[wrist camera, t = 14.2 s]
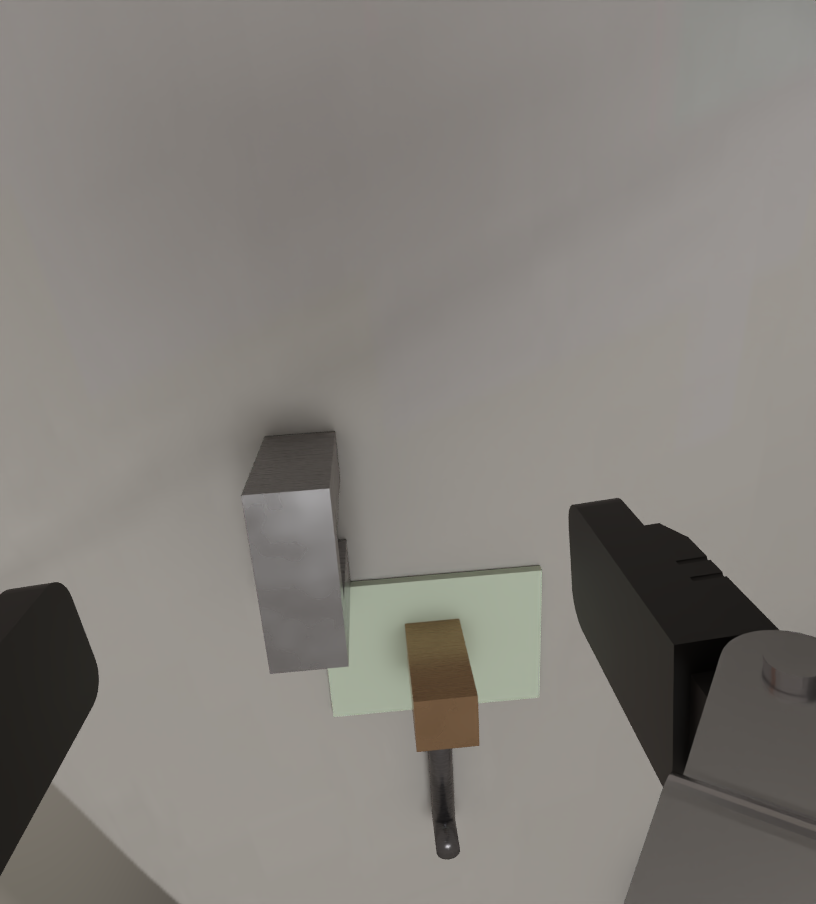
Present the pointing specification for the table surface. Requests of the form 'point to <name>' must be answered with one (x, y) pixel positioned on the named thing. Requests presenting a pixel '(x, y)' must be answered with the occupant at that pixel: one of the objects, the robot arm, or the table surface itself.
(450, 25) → the table surface
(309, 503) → the slotted metal block
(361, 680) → the mat
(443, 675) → the wooden head mallet
